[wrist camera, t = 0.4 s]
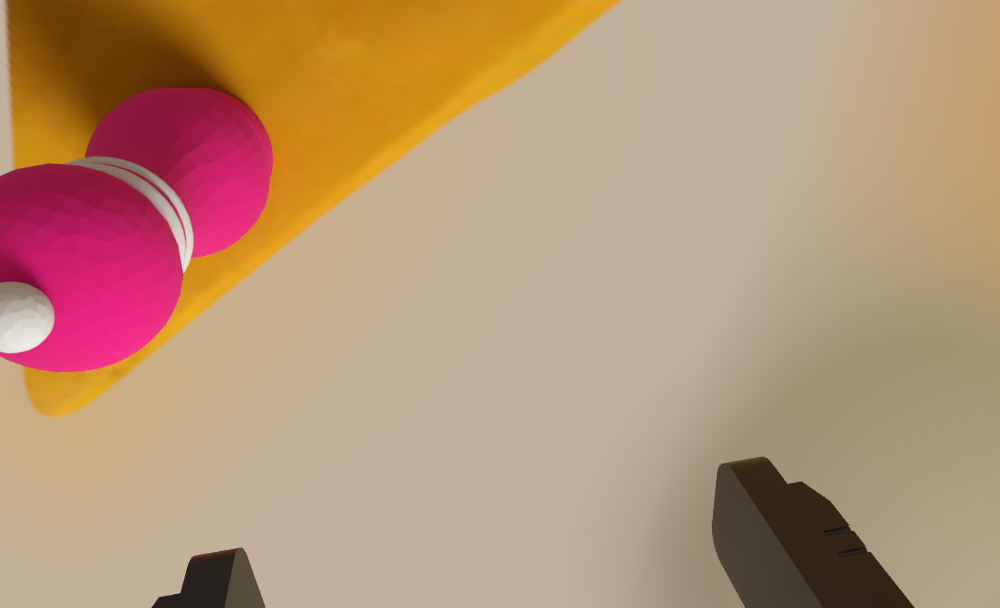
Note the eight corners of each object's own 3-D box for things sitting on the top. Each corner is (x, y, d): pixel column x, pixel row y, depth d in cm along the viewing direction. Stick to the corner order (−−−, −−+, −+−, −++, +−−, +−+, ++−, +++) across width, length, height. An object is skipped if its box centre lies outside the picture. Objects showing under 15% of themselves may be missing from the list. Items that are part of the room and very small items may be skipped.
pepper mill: (108, 85, 33) (-251, 206, 15) (264, 67, 34) (99, 162, 16) (155, 232, 36) (-98, 479, 18) (298, 213, 37) (191, 436, 19)
